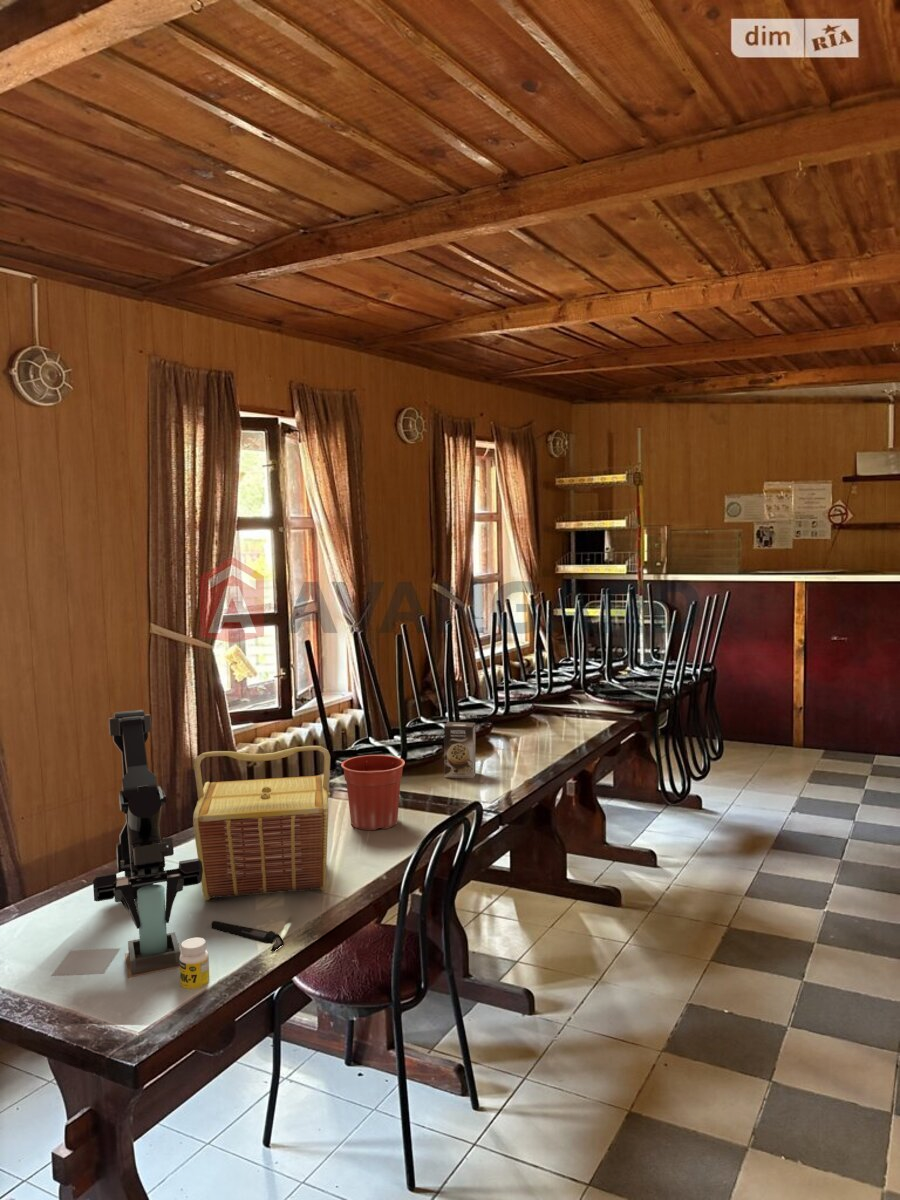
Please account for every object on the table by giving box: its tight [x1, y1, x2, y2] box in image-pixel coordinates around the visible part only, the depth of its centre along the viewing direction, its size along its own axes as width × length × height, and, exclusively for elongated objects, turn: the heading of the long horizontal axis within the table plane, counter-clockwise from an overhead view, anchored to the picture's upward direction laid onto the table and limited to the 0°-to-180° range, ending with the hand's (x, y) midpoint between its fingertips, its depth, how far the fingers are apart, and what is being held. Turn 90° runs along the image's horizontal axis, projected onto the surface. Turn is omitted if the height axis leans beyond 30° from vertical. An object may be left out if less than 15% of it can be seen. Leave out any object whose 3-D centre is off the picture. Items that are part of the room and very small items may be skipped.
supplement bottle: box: [179, 936, 210, 990], centre depth 151 cm, size 5×5×8 cm
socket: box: [124, 932, 181, 979], centre depth 158 cm, size 9×9×4 cm
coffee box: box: [443, 721, 477, 779], centre depth 273 cm, size 9×6×16 cm
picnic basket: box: [192, 745, 331, 901], centre depth 194 cm, size 29×26×30 cm
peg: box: [136, 883, 168, 958], centre depth 158 cm, size 5×5×13 cm
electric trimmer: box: [210, 920, 285, 952], centre depth 168 cm, size 4×16×3 cm, turn 64°
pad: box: [51, 947, 121, 977], centre depth 158 cm, size 9×9×2 cm
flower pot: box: [340, 754, 406, 831], centre depth 231 cm, size 16×16×16 cm
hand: (153, 925), depth 157 cm, fingers closed on peg, 5 cm apart
